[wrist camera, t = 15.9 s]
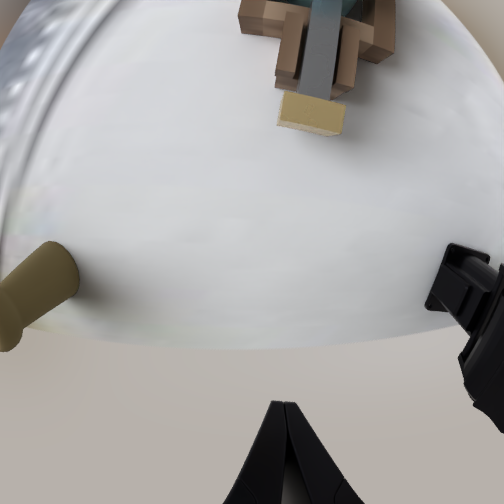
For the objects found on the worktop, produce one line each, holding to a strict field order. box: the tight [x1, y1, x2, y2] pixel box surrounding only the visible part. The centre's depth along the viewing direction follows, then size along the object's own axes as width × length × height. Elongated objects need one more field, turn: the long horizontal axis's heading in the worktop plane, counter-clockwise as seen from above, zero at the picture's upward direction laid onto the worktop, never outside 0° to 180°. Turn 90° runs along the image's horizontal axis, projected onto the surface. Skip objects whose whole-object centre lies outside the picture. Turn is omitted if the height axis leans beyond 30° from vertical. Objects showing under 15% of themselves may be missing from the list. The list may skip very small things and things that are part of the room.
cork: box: [0, 241, 80, 352], centre depth 16 cm, size 6×6×11 cm
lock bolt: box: [277, 0, 346, 136], centre depth 11 cm, size 3×8×3 cm, turn 171°
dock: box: [238, 0, 395, 100], centre depth 11 cm, size 10×14×4 cm
